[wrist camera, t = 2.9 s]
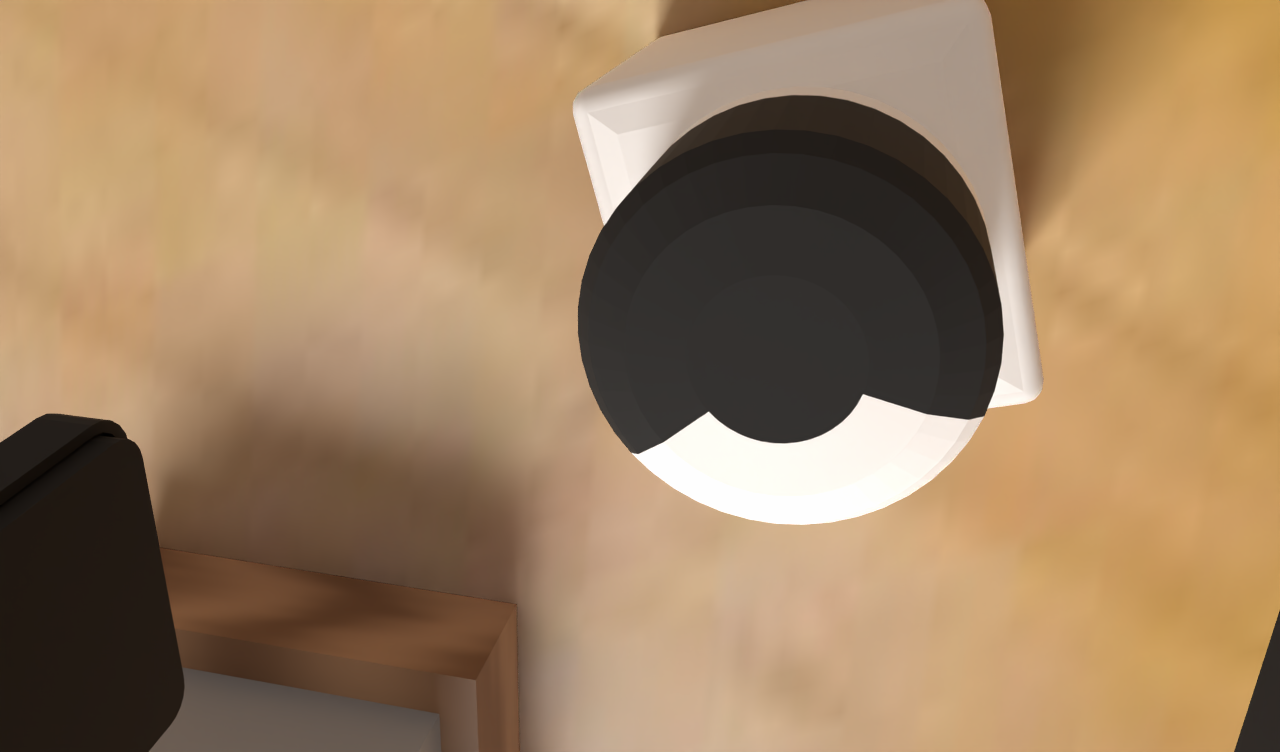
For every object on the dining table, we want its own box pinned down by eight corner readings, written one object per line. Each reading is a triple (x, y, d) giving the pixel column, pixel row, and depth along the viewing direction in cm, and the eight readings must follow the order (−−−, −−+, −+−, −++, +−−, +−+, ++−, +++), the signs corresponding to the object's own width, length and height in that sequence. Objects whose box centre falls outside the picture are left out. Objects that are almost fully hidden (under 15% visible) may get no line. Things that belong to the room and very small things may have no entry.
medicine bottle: (648, 38, 26) (462, 161, 15) (970, -42, 24) (1011, 36, 13) (719, 325, 29) (601, 604, 18) (1017, 276, 27) (1084, 557, 16)
